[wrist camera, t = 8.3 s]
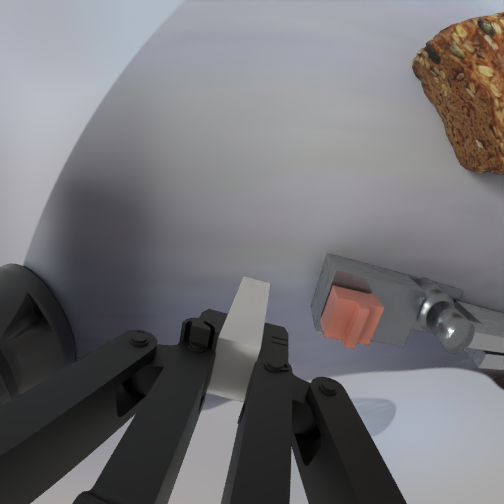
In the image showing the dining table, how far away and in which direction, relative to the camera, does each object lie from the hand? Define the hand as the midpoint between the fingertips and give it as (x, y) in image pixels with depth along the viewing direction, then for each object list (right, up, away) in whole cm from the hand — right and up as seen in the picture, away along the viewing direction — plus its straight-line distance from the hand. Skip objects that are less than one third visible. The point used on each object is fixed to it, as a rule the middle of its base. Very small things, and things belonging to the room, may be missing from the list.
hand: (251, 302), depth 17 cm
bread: (+22, +18, +1) cm, 28 cm away
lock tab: (+6, -1, +2) cm, 7 cm away
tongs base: (+20, -3, +6) cm, 21 cm away
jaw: (+24, -4, +5) cm, 25 cm away
